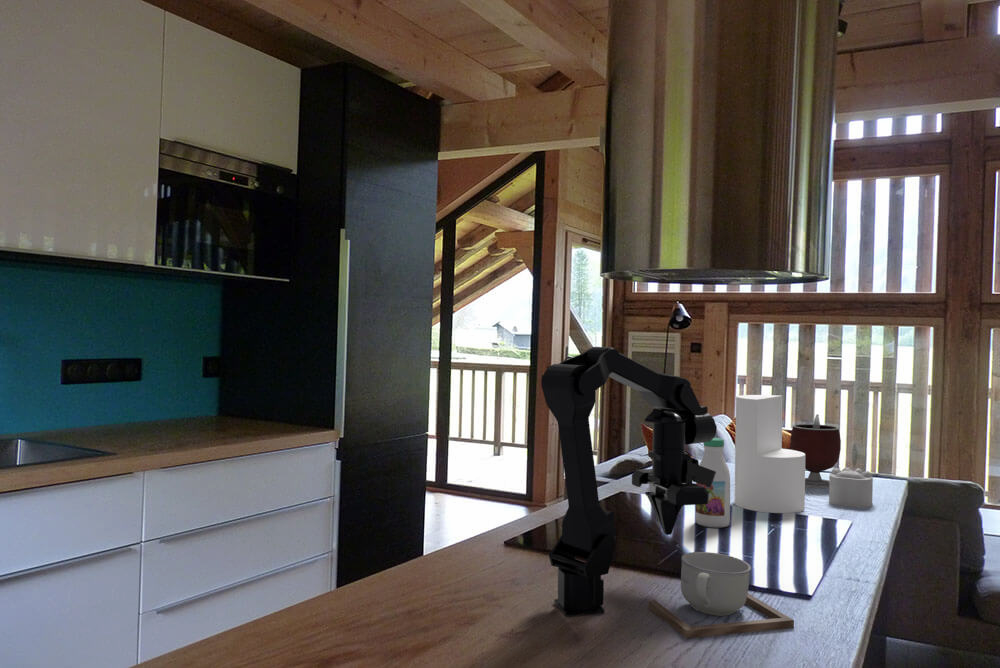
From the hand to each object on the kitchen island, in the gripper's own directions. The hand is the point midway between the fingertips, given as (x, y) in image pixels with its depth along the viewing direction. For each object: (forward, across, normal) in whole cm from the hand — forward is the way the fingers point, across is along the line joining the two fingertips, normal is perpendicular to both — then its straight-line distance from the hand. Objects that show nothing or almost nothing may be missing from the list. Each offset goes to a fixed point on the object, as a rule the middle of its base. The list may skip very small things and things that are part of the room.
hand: (667, 534), depth 140 cm
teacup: (+9, -15, 0) cm, 18 cm away
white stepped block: (+9, +51, -55) cm, 75 cm away
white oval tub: (+9, +50, -80) cm, 95 cm away
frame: (+8, -18, 0) cm, 20 cm away
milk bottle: (+9, +36, -30) cm, 47 cm away
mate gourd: (+9, +74, -86) cm, 114 cm away
